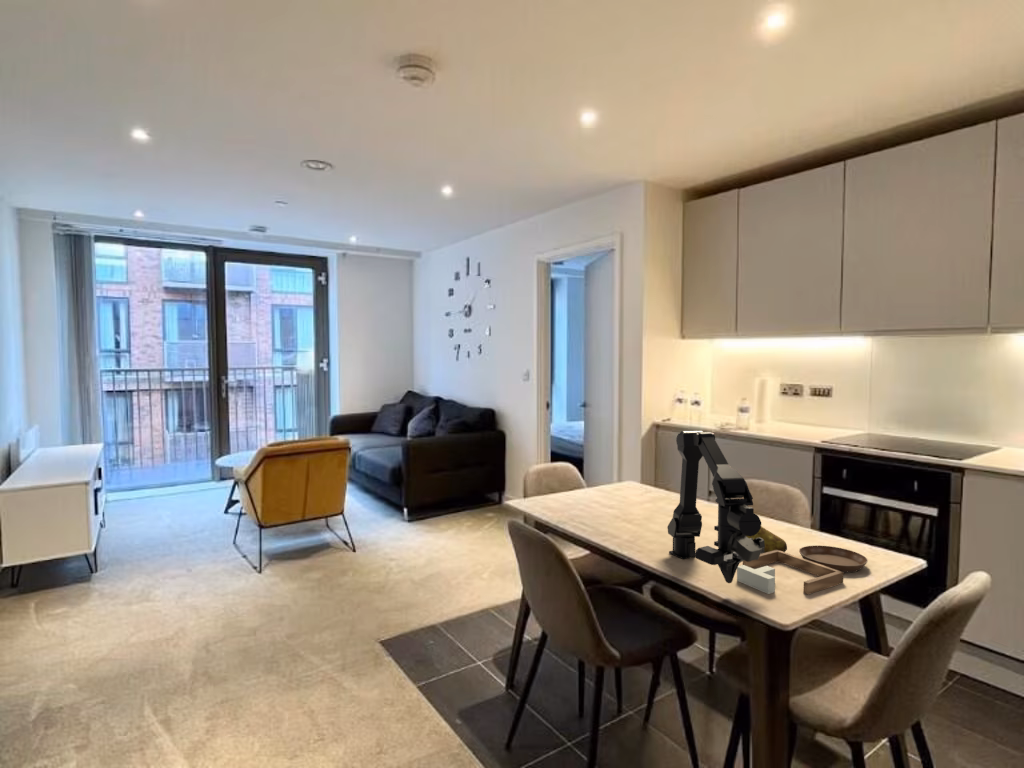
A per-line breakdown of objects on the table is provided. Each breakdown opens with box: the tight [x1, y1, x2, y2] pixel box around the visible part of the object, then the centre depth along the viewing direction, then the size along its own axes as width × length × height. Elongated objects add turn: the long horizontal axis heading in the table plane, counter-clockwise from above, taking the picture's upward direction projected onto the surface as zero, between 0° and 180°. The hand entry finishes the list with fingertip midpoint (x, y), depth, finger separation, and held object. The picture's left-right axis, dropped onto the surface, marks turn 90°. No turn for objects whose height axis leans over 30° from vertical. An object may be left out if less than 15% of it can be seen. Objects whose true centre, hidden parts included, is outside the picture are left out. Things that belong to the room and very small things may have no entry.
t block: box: [736, 564, 776, 595], centre depth 154 cm, size 10×8×4 cm
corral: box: [742, 550, 844, 595], centre depth 160 cm, size 20×15×3 cm
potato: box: [746, 525, 788, 553], centre depth 180 cm, size 8×13×8 cm, turn 38°
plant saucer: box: [798, 545, 869, 573], centre depth 169 cm, size 18×18×3 cm
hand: (728, 582), depth 148 cm, fingers closed
